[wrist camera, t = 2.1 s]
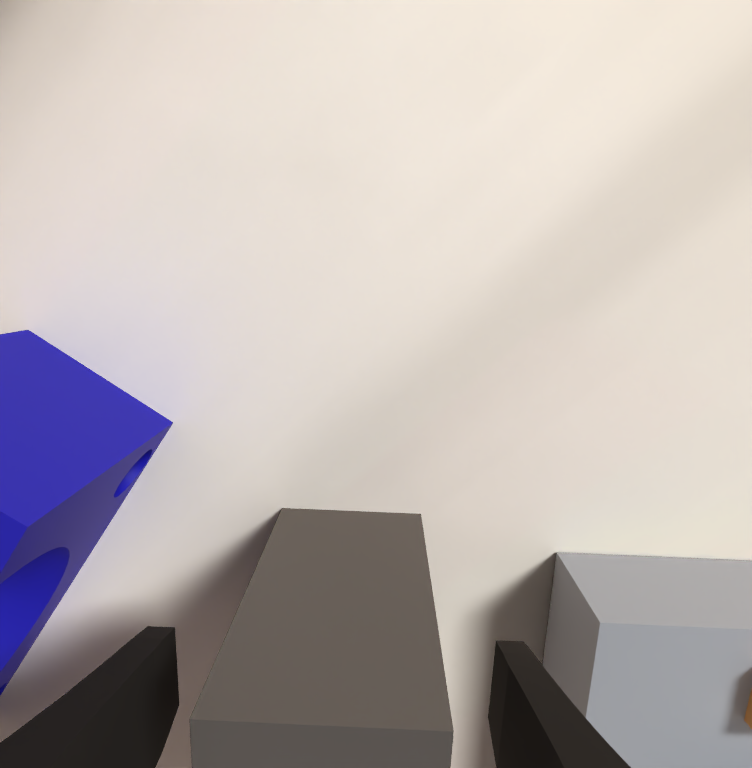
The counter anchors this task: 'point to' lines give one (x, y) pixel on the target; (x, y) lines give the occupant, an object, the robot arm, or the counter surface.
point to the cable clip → (58, 478)
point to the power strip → (656, 655)
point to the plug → (330, 653)
